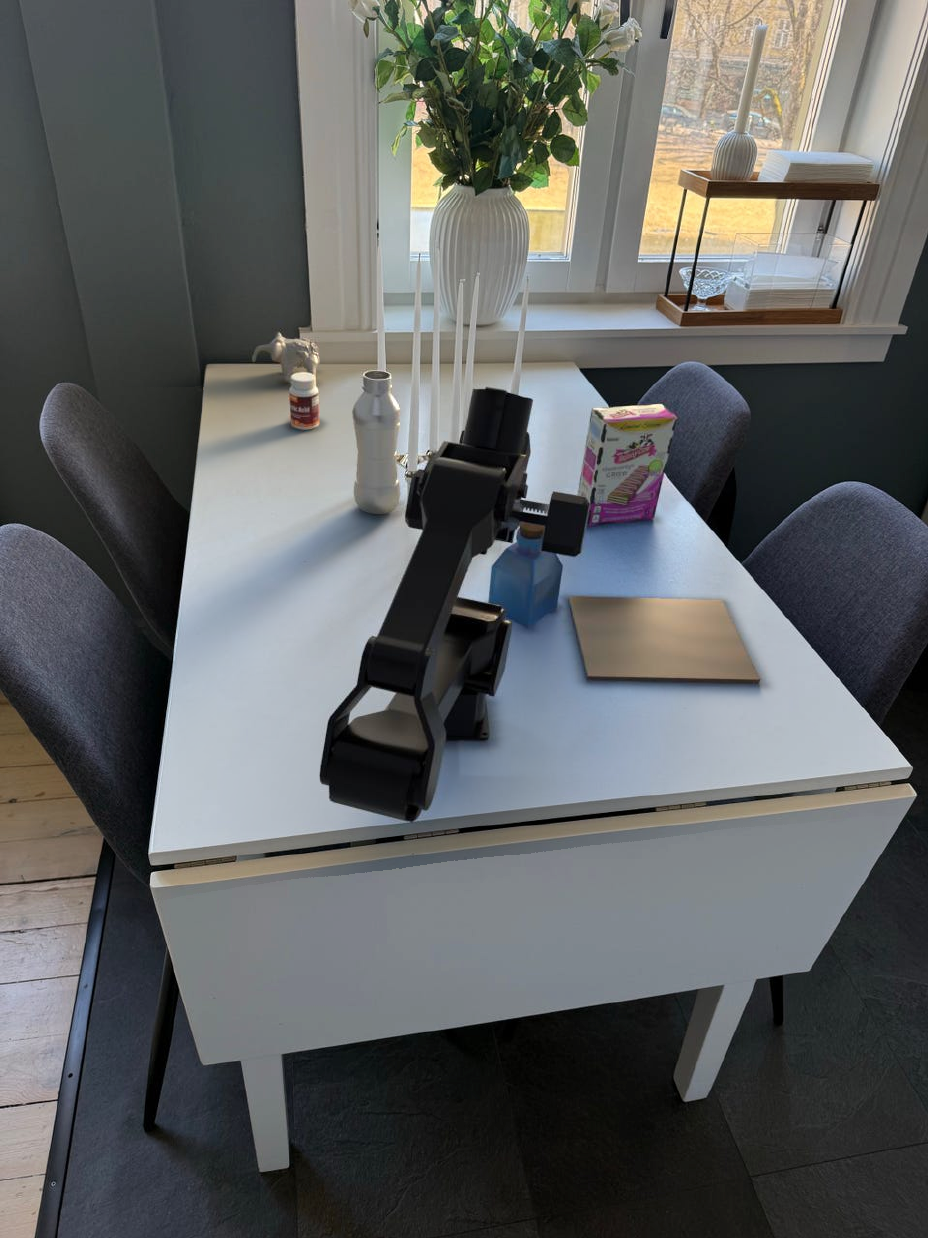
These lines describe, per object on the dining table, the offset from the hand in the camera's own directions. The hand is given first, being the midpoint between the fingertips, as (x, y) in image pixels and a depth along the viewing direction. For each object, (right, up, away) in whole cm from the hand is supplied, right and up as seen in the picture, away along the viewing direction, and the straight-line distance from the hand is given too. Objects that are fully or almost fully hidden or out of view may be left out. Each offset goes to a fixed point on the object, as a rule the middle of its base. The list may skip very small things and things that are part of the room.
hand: (507, 519), depth 103 cm
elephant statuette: (-37, +33, +67) cm, 83 cm away
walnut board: (+19, -14, +7) cm, 24 cm away
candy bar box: (+17, +4, +32) cm, 36 cm away
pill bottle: (-32, +21, +51) cm, 64 cm away
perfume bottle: (+2, -10, +11) cm, 15 cm away
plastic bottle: (-18, +5, +29) cm, 34 cm away
